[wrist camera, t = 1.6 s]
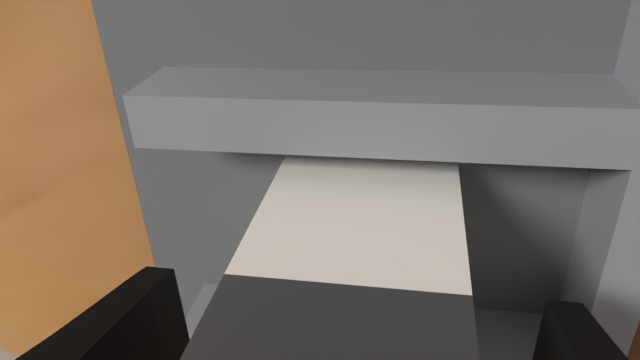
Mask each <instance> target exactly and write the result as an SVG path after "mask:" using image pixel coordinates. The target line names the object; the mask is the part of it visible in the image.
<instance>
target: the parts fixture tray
mask: <svg viewBox="0 0 640 360" xmlns="http://www.w3.org/2000/svg"><path fill="white" fill-rule="evenodd" d="M91 2H92V7H93V11H94V15H95V19H96V23H97V27H98V31H99V35H100V40H101V44H102V48H103V52H104V56H105V60H106V64H107V69H108V73H109V77H110V81H111V85H112V89H113V93H114V97H115V102H116V106H117V110H118V114H119V118H120V122H121V126H122V131H123V135H124V139H125V143H126V147H127V151H128V155H129V159H130V164H131V168H132V172H133V176H134V180H135V184H136V188H137V193H138V197H139V201H140V205H141V209H142V213H143V217H144V222H145V226H146V230H147V234H148V238H149V242H150V246H151V250H152V255H153V259H154V263H155V267H159V268H171V269H174V271H175V275H176V280H177V284H178V289H179V293H180V298H181V302H182V307H183V311H184V316H185V320H186V325H187V329H188V334H189V338H190V339H191V337H192V335H193V333H194V331H195V329H196V327H197V325H198V323H199V321H200V319H201V318H202V316H203V314H204V312H205V310H206V308H207V306H208V304H209V302H210V300H211V298H212V296H213V294H214V293H215V291H216V289H217V287H218V285H219V283H220V281H221V279H222V277H223V275H224V273H225V271H226V269H227V268H228V266H229V264H230V262H231V260H232V258H233V256H234V254H235V252H236V250H237V248H238V246H239V244H240V243H241V241H242V239H243V237H244V235H245V233H246V231H247V229H248V227H249V225H250V223H251V221H252V219H253V217H254V216H255V214H256V212H257V210H258V208H259V206H260V204H261V202H262V200H263V198H264V196H265V194H266V192H267V191H268V189H269V187H270V185H271V183H272V181H273V179H274V177H275V175H276V173H277V171H278V169H279V167H280V166H281V164H282V162H283V160H284V158H285V156H286V155H305V156H327V157H349V158H372V159H394V160H416V161H438V162H458V169H459V178H460V187H461V196H462V205H463V214H464V223H465V232H466V241H467V250H468V259H469V269H470V278H471V287H472V296H473V305H474V314H475V323H476V332H477V341H478V350H479V359H480V360H532V359H533V355H534V350H535V346H536V341H537V337H538V332H539V328H540V324H541V319H542V315H543V310H544V306H545V301H546V300H555V301H567V302H579V303H583V305H584V306H585V307H586V308H587V309H588V310H589V312H590V313H591V314H592V315H593V316H594V318H595V319H596V320H597V321H598V323H599V324H600V325H601V326H602V328H603V329H604V330H605V331H606V332H607V334H608V335H609V336H610V337H611V339H612V340H613V341H614V342H615V344H616V345H617V346H618V347H619V348H620V350H621V351H622V352H623V353H624V354H625V356H626V357H627V356H628V353H629V350H630V347H631V344H632V342H633V339H634V336H635V333H636V330H637V327H638V324H639V321H640V0H91Z"/></svg>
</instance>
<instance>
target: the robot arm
mask: <svg viewBox="0 0 640 360" xmlns="http://www.w3.org/2000/svg"><path fill="white" fill-rule="evenodd" d="M189 341H190V338H189V334H188V329H187V325H186V320H185V316H184V311H183V307H182V302H181V298H180V293H179V289H178V284H177V280H176V275H175V271H174V269H171V268H159V267H145V268H144V269H142V270H141V271H139V272H138V273H136V274H135V275H133V276H132V277H130V278H129V279H128V280H126V281H125V282H124V283H122V284H121V285H119V286H118V287H117V288H115V289H114V290H113V291H111V292H110V293H109V294H107V295H106V296H105V297H103V298H102V299H101V300H99V301H98V302H97V303H95V304H94V305H92V306H91V307H90V308H88V309H87V310H86V311H84V312H83V313H81V314H80V315H79V316H77V317H76V318H75V319H73V320H72V321H70V322H69V323H68V324H66V325H65V326H64V327H62V328H61V329H59V330H58V331H57V332H55V333H54V334H52V335H51V336H49V337H48V338H47V339H45V340H44V341H42V342H41V343H39V344H38V345H36V346H35V347H33V348H32V349H30V350H29V351H27V352H26V353H24V354H23V355H21V356H20V357H18V358H17V359H15V360H180V358H181V356H182V354H183V352H184V350H185V348H186V346H187V344H188V343H189ZM532 360H629V359H628V358H627V357H626V356H625V354H624V353H623V352H622V351H621V350H620V348H619V347H618V346H617V345H616V344H615V342H614V341H613V340H612V339H611V337H610V336H609V335H608V334H607V332H606V331H605V330H604V329H603V328H602V326H601V325H600V324H599V323H598V321H597V320H596V319H595V318H594V316H593V315H592V314H591V313H590V312H589V310H588V309H587V308H586V307H585V306H584V305H583V303H579V302H567V301H555V300H546V301H545V306H544V310H543V315H542V319H541V324H540V328H539V332H538V337H537V341H536V346H535V350H534V355H533V359H532Z"/></svg>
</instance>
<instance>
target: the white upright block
mask: <svg viewBox="0 0 640 360" xmlns="http://www.w3.org/2000/svg"><path fill="white" fill-rule="evenodd" d="M180 360H480V359H479V350H478V341H477V332H476V323H475V314H474V305H473V296H472V287H471V278H470V269H469V259H468V250H467V241H466V232H465V223H464V214H463V205H462V196H461V187H460V178H459V169H458V162H438V161H416V160H394V159H372V158H349V157H327V156H305V155H286V156H285V158H284V160H283V162H282V164H281V166H280V167H279V169H278V171H277V173H276V175H275V177H274V179H273V181H272V183H271V185H270V187H269V189H268V191H267V192H266V194H265V196H264V198H263V200H262V202H261V204H260V206H259V208H258V210H257V212H256V214H255V216H254V217H253V219H252V221H251V223H250V225H249V227H248V229H247V231H246V233H245V235H244V237H243V239H242V241H241V243H240V244H239V246H238V248H237V250H236V252H235V254H234V256H233V258H232V260H231V262H230V264H229V266H228V268H227V269H226V271H225V273H224V275H223V277H222V279H221V281H220V283H219V285H218V287H217V289H216V291H215V293H214V294H213V296H212V298H211V300H210V302H209V304H208V306H207V308H206V310H205V312H204V314H203V316H202V318H201V319H200V321H199V323H198V325H197V327H196V329H195V331H194V333H193V335H192V337H191V339H190V341H189V343H188V344H187V346H186V348H185V350H184V352H183V354H182V356H181V358H180Z"/></svg>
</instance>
